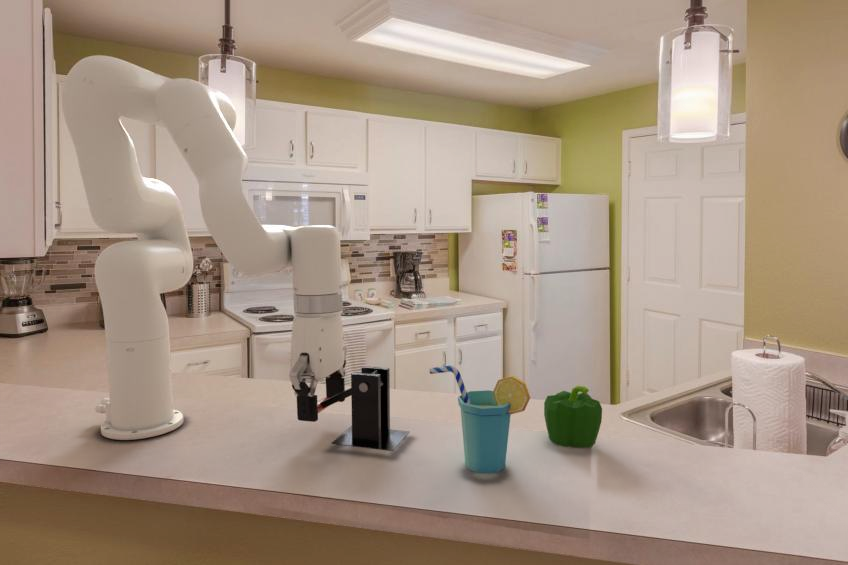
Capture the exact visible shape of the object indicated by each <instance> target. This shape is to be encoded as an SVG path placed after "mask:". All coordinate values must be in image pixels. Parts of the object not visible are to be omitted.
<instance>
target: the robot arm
mask: <svg viewBox="0 0 848 565" xmlns="http://www.w3.org/2000/svg"><path fill="white" fill-rule="evenodd" d="M61 108H62V113H63V117H64V120H65V123H66V127H67V129H68V132H69V135H70V137H71V141H72V143H73V146H74V149H75V153H76V157H77V162H78V168H79V171H80V175H81V179H82V183H83V187H84V192H85V196H86V200H87V204H88V208H89V212H90V215H91V217H92V220H93V222H94V223H95V224H96V226H97V227H98V228H100V229H101V230H103V231H105V232H109V233H114V234H136V238H137V239H132V240H122V241H118V242H116V243H113V244H111V245H108V246H107V247H106V248H104V249H103V250H102V251H101V252H100V253H99V255H98V256H97V258H96V260H95V263H94V268H93V269H94V273H93V274H94V280H95V284H96V288H97V292H98V295H99V298H100V303H101V308H102V312H103V313H102V314H103V321H104V322H103V323H104V335H105V347H106V362H107V364H106V365H107V380H108V394H109V397H104V398H103V399H102V400H101V401H100V404H97V405H96V406H95V412H96V413H99V414H105V418H106V420H104V422H102V424H100V434H101V435H102V436H103V437H104V438H107V439H110V440H116V441H133V440H142V439H148V438H153V437H158V436H161V435H164V434H167V433H170V432H172V431H174V430H177V429H178V428H179V427H180V426H182V425H183V423H184V413H182V412H181V411H179V410H177V409H174V399H173V398H174V397H173V376H172V360H171V359H172V358H171V339H170V338H171V336H170V325H169V318H168V314H167V311H166V308H165V306H164V303H163V301H162V299H161V296H160V294H165V293H171V292H173V291H174V292H175V291H177V290H179V289H181V288H184V287H185V285H187V284H188V282H189V281H190V279H191V278H192V275H193V272H194V256H193V251H192V246H191V242H190V237H189V233H188V229H187V225H186V224H187V223H186V221H185V216H184V212H183V208H182V205H181V202H180V199H179V198H178V195H177V194H176V193H175V191H174V190H173V188H171V187H170V186H169V185H168V184H166V183H165V182H163V181H162V180H158V179H157V178H156V179H155V178H150V177H144V176H143V174H142V172H141V168H140V164H139V161H138V157H137V151H136V148H135V145H134V143H133V140H132V139H131V137H130V135H129V133H128V132H127V130H126V129H125V127H124V126H123V124H122V122H121V117H124V118H126V119H127V118H128V119H131V120H135V121H140V122H142V123H146V124H150V125H154V126H158V127H160V128H163V129H164V128H165V129H166V130H167V132H168V133H169V136H170V137H171V139H172V140H173V142H174V144H175V146H176V147H177V148H178V150H179V152H180V153H181V155H182V157H183V159H184V160H185V162H186V163H187V166H188V168H189V169H190V171H191V172H192V174H193V175H194V178H195V179H196V181H197V183H198V199H199V205H200V209H201V210H200V211H201V214H202V219H203V221H204V224H205V226H206V228H207V230H208V232H209V234H210V235H211V237H212V239H213V240H214V242H215V244H216V246H217V248H218V249H219V251H220V252H221V254H222V255H223V257H224V258H225V260H226V261H227V262H228V264H229V265H230V266H232V267H233V268H234V269H235V270H236V271H237V272H239V273H241V274H243V275H246V276H251V277H256V276H262V275H267V274H273V273H277V272H283V271H288V270H291V273H292V291H293V292H292V293H293V294H292V295H293V313H294V314H293V315H294V316H293V321H292V326H291V328H292V329H291V337H290V338H291V339H290V340H291V341H290V371H289V379H290V381H291V387H292V390H293V391H294V396H296V415H297V420H298V421H299V422H300V421H301V422H310V423H311V422H312V423H316V422H317V421H318V420H319V413H318V405H317V402H318V395H317V394H316V389H317V386H318V384H319V381H322V380H323V379H325V397H328V398H331V397H333V396H335V395H337V394H339V393H341V392H343V391H345V390H346V387H345V386H346V385H345V376H346V369H345V367H346V364H347V361H346V358H347V357H346V356H347V350H348V349H347V347H346V346H345V338H344V327H343V319H342V314H343V313H344V309H343V308H344V307H343V305H344V304H343V282H342V279H343V278H342V250H341V249H342V248H341V234H340V231H339V229H338V228H337V227H336V226H334V225H330V224H329V225H328V224H326V225H325V224H321V225H320V224H319V225H318V224H317V225H315V224H314V225H300V226H299V225H298V226H290V225H284V224H283V225H282V224H262V223H261V221H260V220H259V218H258V216H257V215H256V214H255V211H254V210H253V208H252V207H251V205H250V203H249V201H248V199H247V196H246V194H245V191H244V187H243V176H244V173H245V172H246V171H247V170H248V167H249V164H250V162H249V157H248V155H247V154H246V152H245V151H244V149H243V147H242V146H241V144H240V142H239V141H238V139H237V137H236V136H235V134H234V133H233V131H234V129H235V128H236V124H237V113H236V109H235V107H234V104H233V103H232V101H231V100H230V99H229V97H228V96H227V95H226V94H225V93H223V92H222V91H220V90H218V89H216V88H214V87H211V86H209V85H207V84H204V83H202V82H200V81H197V80H194V79H192V78H191V79H190V78H185V77H183V78H182V77H178V78H170V77H167V76H164V75H161V74H158V73H156V72H153V71H151V70H149V69H146V68H143V67H141V66H139V65H136V64H134V63H132V62H129V61H126V60H124V59H121V58H117V57H115V56H111V55H110V56H109V55H103V54H96V55H90V56H86V57H83V58H82V59H80V60H79V61H77V62H76V63H75V64H74V65H73V66H72V68H70V70H69V71H68V73H67V75H66V77H65V79H64V82H63V86H62V90H61ZM307 382H308V383H309V382H310V383H309V384H307ZM344 401H346V398H345V399H343V400H340V401H338V402H337V403H343V402H344Z"/></svg>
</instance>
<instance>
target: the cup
mask: <svg viewBox="0 0 848 565" xmlns="http://www.w3.org/2000/svg"><path fill="white" fill-rule="evenodd" d="M428 371H429V374H430V375H433V374H442V373H443V374H444V373H452V374H453V375H454V378H455V380H456V383H457V386H458V389H459V391H460V394H461V395H459V396H457V404H458V406H459V407H460V418H461V431H462V443H463V452H464V463H465V466H466V468H467V469H468V471H471V472H474V473H478V474H482V475H483V474H484V475H485V474H497V473H500V472H501V471H502V470H503V469H505V468H506V462H507V452H508V443H509V434H510V424H511V415H514V414H518V413H522V412H524V411H526V408H527V406H528V403H529V402H530V399H531V395H530V392H529V390H528V387H527V384H526V382H524V381H522V380H521V379H519V378H517V377H515V376H514V375H510V376H507V377H504V378H499V379H498V380H497V381H496V384H495V386H494V388H493V390H471V391H467V389H466V387H465V384H464V380H463V378H462V375H461V372H460V371H459V370H458V368H456V367H455V366H454V365H451V364H450V365H443V366H437V367H429V370H428Z"/></svg>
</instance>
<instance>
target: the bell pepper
mask: <svg viewBox="0 0 848 565" xmlns="http://www.w3.org/2000/svg"><path fill="white" fill-rule="evenodd" d="M588 392H589V388H587V387H586V386H584V385H576V386H574V387H573V388H572V389H571V392H570V391H566V390H562V391H559V392H557V393H555V394H553V395H547V396H546V398H545V400H544V402H543V405H544V406H543V416H544V420H545V426H546V430H547V434H548V438H549V440H550V441H551V442H552V443H554V444H556V445H558V446H562V447H572V448H578V449H580V448H581V449H585V448H593V446H595V444H596V441H597V439H598V435H599V432H600V428H601V425H602V421H603V420H602V419H603V408H602V405H601V402H600V401H599V400H597V399H595V398H592V396H591V395H589V393H588Z"/></svg>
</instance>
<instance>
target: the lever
mask: <svg viewBox="0 0 848 565" xmlns="http://www.w3.org/2000/svg"><path fill="white" fill-rule="evenodd" d="M370 374H379V373H378V371H377V370H376V371H374V372H372V373H370ZM383 384H384V383H383V381H382V379H381V377H380V387H381V386H382V385H383ZM349 397H351V387H349V388H347V389H345V391H343V392H341V393H339V394H337V395H335V396H333V397H331V398H328V397H326V396H325V397H323V398H321V399H320V400H319V401H318V400H317V405H318V414H320V413H321V412H323V411H324V410H325V409H327V408H329V407H330V406H332V405H334V404H337V403H339V402H338V401H340V400H343V399H345V400H346V399H347V398H349Z"/></svg>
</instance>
